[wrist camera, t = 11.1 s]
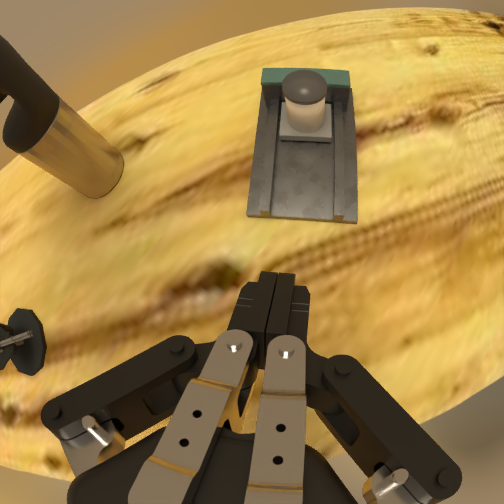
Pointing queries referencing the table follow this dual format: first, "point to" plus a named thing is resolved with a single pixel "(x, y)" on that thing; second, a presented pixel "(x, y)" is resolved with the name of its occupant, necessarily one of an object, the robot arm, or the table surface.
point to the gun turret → (23, 342)
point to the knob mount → (305, 158)
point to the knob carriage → (305, 108)
